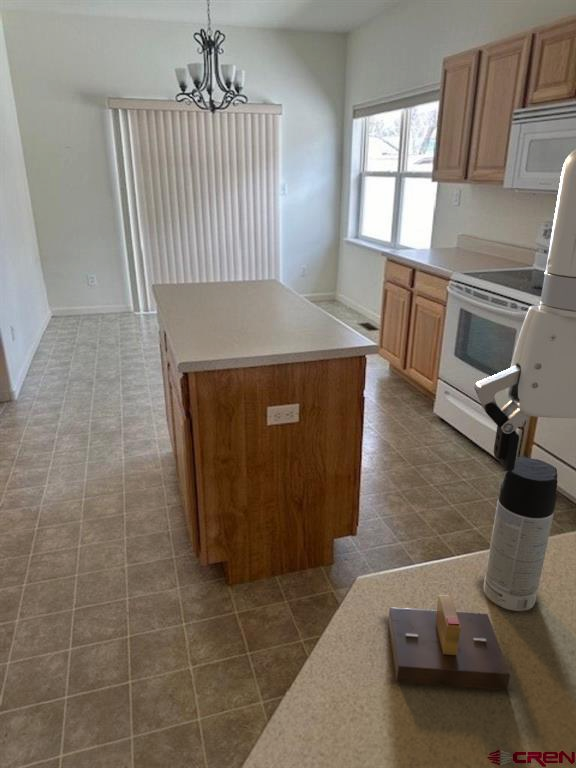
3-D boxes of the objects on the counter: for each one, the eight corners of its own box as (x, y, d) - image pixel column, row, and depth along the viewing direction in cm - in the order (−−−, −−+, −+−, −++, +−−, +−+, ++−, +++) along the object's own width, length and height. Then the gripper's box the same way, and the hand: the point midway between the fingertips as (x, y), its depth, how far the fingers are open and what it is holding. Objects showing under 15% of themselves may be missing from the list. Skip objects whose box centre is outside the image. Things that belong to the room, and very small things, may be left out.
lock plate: (484, 632, 67) (487, 612, 66) (506, 695, 58) (510, 673, 57) (387, 626, 68) (389, 606, 67) (396, 687, 59) (398, 665, 58)
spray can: (535, 590, 74) (560, 461, 68) (534, 623, 69) (562, 486, 62) (485, 576, 77) (505, 451, 70) (480, 607, 71) (501, 473, 65)
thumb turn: (434, 621, 65) (438, 592, 63) (447, 622, 64) (451, 593, 63) (443, 654, 60) (447, 624, 58) (456, 655, 60) (461, 625, 58)
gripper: (664, 291, 50) (624, 454, 56) (477, 287, 52) (457, 447, 57) (718, 305, 43) (667, 490, 49) (501, 300, 44) (475, 481, 50)
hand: (554, 467), depth 53 cm, fingers open, 9 cm apart
